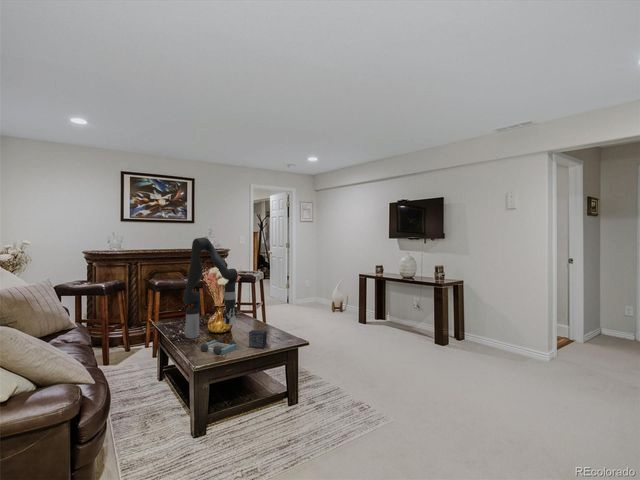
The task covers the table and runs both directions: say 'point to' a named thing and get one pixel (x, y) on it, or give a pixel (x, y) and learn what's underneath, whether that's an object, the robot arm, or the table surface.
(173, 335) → the table surface
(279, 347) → the table surface
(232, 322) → the block
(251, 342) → the small box
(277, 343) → the table surface
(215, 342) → the chassis
